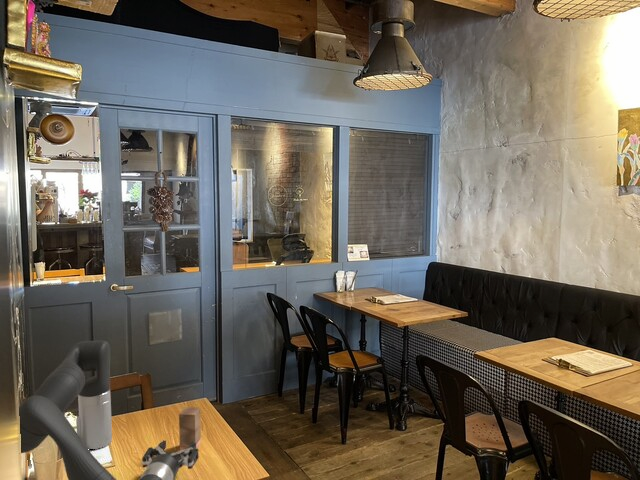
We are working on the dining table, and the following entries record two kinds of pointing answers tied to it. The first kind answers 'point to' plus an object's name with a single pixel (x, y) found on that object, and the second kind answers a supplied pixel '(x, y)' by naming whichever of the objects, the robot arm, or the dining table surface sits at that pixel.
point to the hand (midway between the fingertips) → (179, 443)
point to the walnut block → (189, 427)
